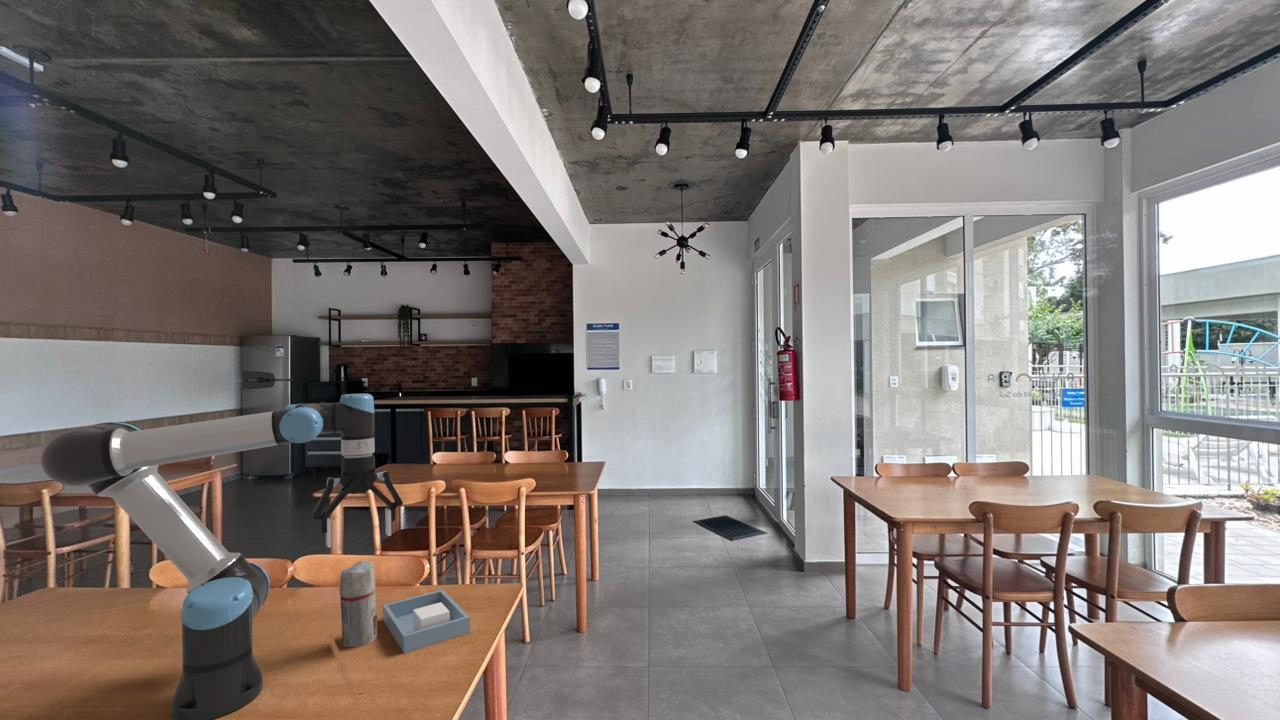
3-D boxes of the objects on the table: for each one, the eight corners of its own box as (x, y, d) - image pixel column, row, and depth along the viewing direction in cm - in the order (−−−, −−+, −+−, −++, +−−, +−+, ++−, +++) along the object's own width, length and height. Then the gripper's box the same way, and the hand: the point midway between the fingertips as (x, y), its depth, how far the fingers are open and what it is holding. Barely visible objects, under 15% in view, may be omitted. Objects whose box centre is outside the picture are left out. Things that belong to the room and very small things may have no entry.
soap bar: (421, 644, 135) (421, 619, 135) (413, 633, 141) (413, 609, 141) (450, 635, 139) (449, 611, 139) (441, 625, 145) (441, 602, 145)
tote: (404, 657, 131) (404, 636, 131) (382, 623, 148) (382, 605, 148) (470, 636, 140) (470, 617, 140) (442, 607, 158) (442, 589, 158)
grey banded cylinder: (367, 652, 133) (366, 569, 134) (334, 652, 134) (333, 570, 134) (384, 635, 142) (383, 557, 142) (352, 635, 142) (352, 557, 142)
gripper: (301, 463, 128) (303, 555, 127) (414, 451, 143) (415, 533, 142) (298, 459, 133) (299, 546, 133) (406, 448, 149) (407, 526, 148)
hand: (359, 540), depth 138 cm, fingers open, 13 cm apart
